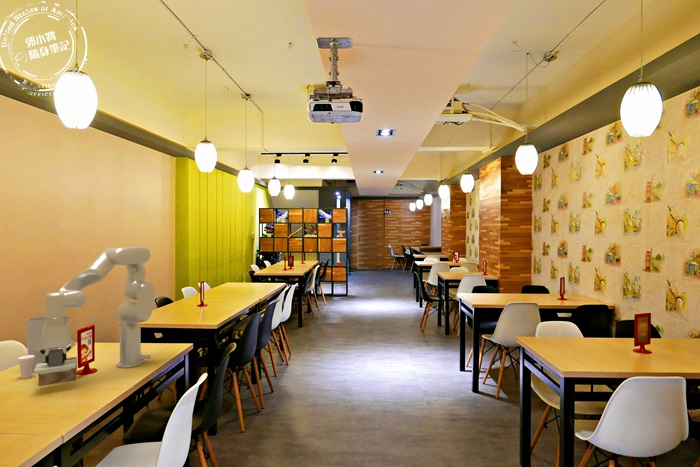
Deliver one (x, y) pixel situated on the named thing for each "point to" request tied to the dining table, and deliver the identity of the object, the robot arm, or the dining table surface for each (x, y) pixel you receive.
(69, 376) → the wooden box
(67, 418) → the dining table surface
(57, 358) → the lid
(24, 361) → the smoothie
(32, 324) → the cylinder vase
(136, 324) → the robot arm
